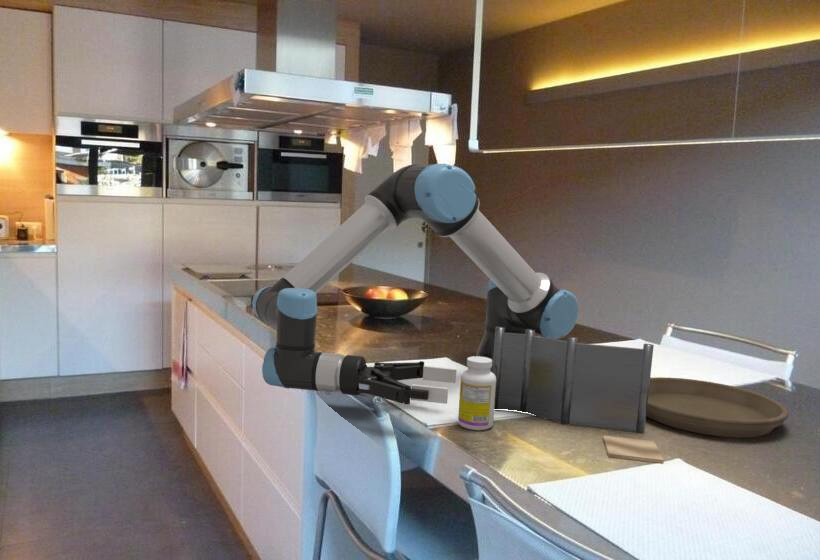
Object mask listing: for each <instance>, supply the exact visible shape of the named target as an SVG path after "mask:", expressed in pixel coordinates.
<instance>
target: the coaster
mask: <svg viewBox="0 0 820 560" xmlns="http://www.w3.org/2000/svg"><path fill="white" fill-rule="evenodd" d="M602 440H604V441H603V444H604V447H605V449H606V453H608V454H607V456H608V458H616V459H624V460H629V461H630V460H631V461H632V460H633V461H639V462H640V461H641V462H648V463H655V464H656V463H659V464H664V462H665V460H664V458H663V455H662V453H661V452H660V450H659V448H658V445H657V444H656V442H655V441H654V440H647V439H636V438H630V437H629V438H628V437H620V436H619V437H618V436H610V435H609V436H608V435H603V436H602Z"/></svg>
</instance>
